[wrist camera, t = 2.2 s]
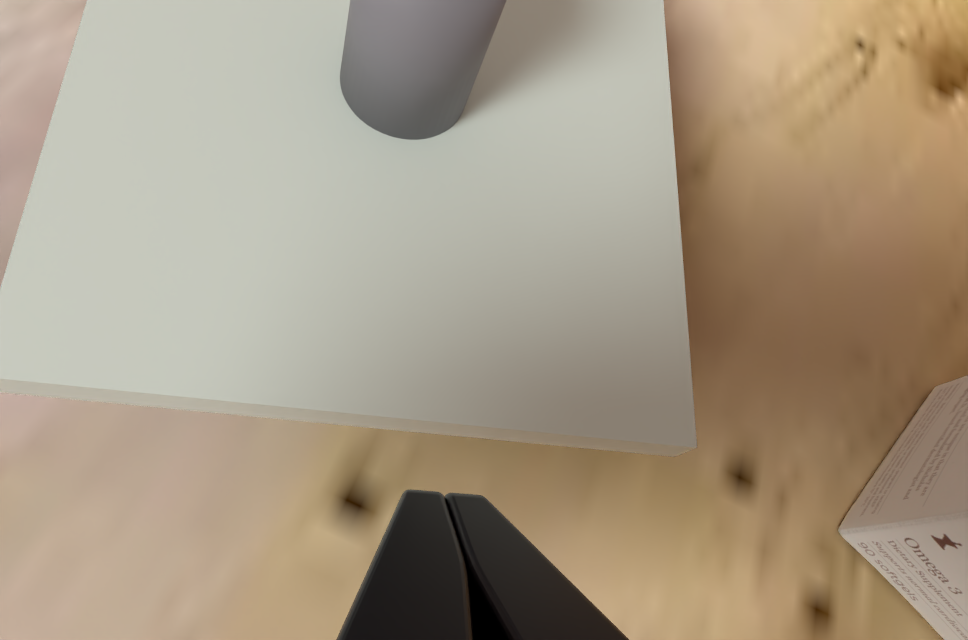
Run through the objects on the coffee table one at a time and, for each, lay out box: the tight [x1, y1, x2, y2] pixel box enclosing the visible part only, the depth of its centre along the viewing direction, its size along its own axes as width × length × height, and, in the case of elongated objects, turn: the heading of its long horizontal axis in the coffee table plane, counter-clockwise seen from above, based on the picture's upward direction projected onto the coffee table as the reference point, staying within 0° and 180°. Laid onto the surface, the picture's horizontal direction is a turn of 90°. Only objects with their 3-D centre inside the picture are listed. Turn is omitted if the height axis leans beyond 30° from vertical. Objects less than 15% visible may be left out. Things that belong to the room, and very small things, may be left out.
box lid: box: [0, 0, 697, 457], centre depth 16 cm, size 14×14×6 cm
